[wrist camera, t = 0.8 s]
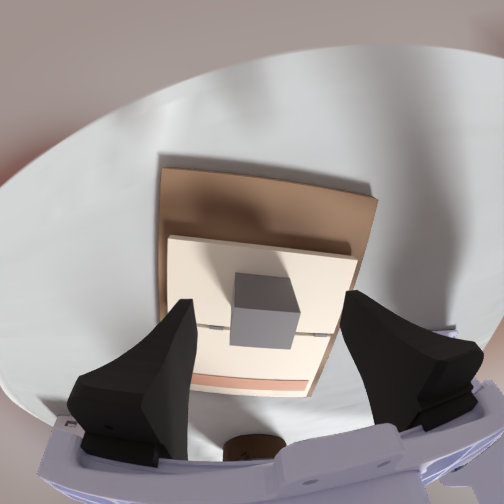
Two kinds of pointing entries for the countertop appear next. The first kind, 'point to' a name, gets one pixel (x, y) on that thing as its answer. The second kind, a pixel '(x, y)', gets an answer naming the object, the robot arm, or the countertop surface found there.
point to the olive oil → (252, 448)
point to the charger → (68, 425)
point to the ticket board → (261, 219)
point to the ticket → (255, 365)
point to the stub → (258, 288)
